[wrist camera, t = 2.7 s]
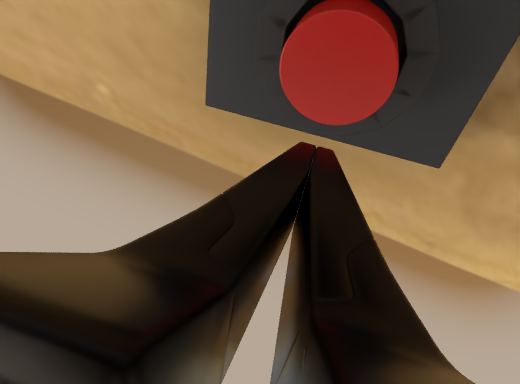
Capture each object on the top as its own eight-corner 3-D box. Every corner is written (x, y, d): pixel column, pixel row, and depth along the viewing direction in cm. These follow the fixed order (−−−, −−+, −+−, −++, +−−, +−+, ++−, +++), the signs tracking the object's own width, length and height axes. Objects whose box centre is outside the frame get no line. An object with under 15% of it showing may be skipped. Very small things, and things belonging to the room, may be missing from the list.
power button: (417, 9, 14) (420, 26, 12) (375, 113, 16) (373, 138, 15) (302, -16, 14) (290, -4, 12) (281, 89, 17) (270, 110, 15)
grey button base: (552, -69, 14) (600, -55, 11) (435, 142, 21) (443, 190, 18) (237, -130, 16) (195, -134, 12) (221, 86, 22) (191, 120, 19)
